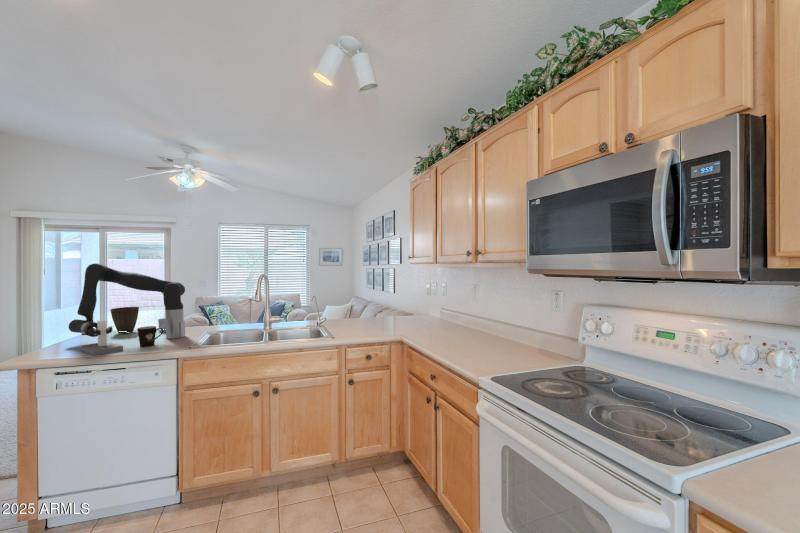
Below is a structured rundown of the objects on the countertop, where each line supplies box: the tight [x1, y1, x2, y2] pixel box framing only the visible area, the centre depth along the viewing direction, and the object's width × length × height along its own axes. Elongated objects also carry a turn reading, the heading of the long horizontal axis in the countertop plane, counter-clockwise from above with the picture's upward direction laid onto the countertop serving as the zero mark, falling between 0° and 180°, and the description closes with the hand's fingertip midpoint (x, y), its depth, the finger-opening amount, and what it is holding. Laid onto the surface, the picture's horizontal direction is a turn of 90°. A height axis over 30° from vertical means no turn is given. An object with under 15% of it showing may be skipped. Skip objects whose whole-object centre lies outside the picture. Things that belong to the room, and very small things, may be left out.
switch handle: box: [96, 319, 108, 347], centre depth 191 cm, size 2×3×13 cm
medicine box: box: [158, 317, 166, 333], centre depth 244 cm, size 8×4×9 cm, turn 168°
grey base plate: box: [79, 340, 124, 357], centre depth 192 cm, size 20×12×3 cm, turn 56°
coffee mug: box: [136, 325, 164, 348], centre depth 203 cm, size 12×9×10 cm
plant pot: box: [110, 306, 140, 335], centre depth 239 cm, size 15×15×16 cm
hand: (104, 332), depth 190 cm, fingers closed on switch handle, 3 cm apart
